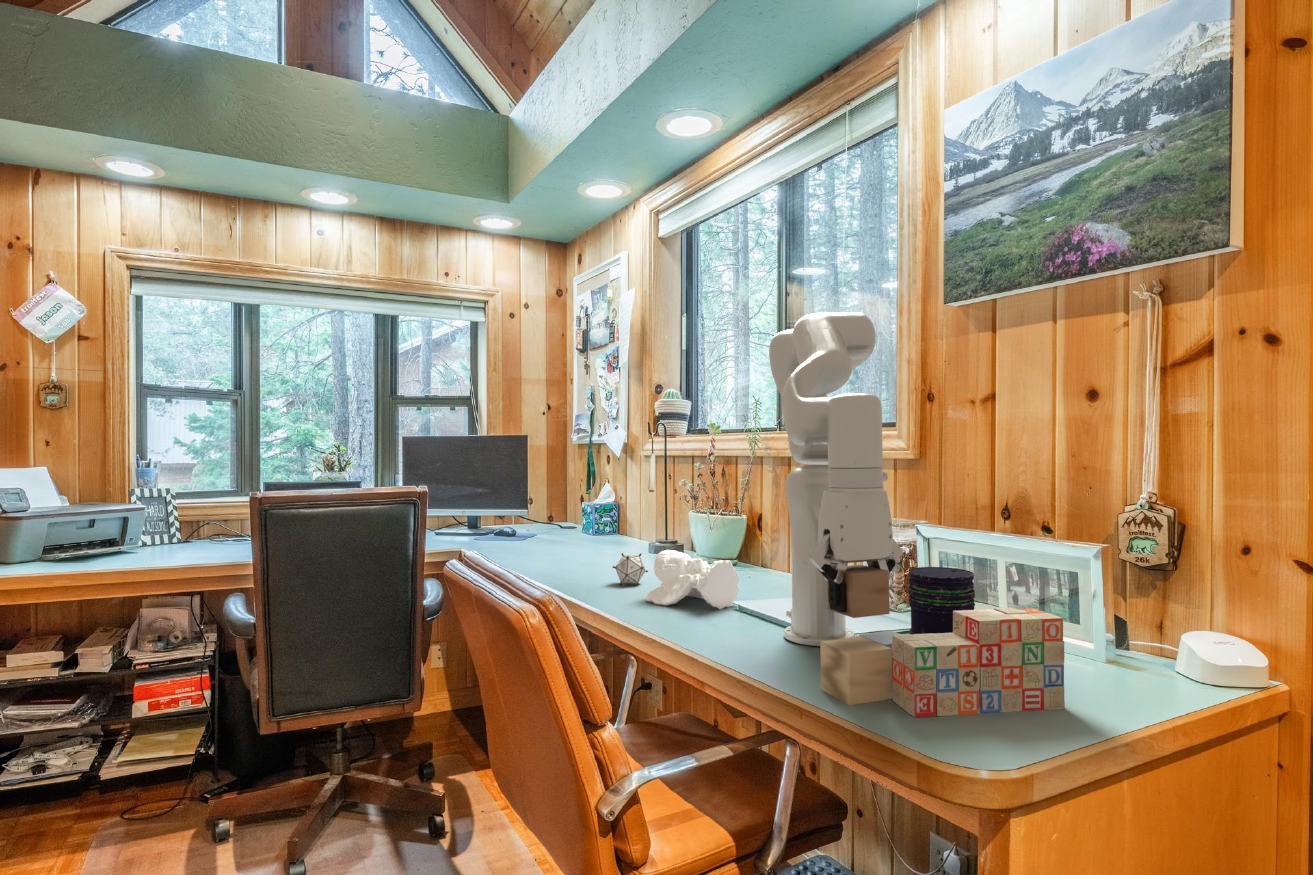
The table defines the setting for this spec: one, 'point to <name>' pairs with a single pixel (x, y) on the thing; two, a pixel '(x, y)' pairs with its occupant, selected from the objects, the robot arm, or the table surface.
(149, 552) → the table surface
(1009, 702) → the stack of blocks
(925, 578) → the storage jar
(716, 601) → the cherub figurine
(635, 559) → the game die
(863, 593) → the walnut cube
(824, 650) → the oak block
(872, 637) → the slate cube
